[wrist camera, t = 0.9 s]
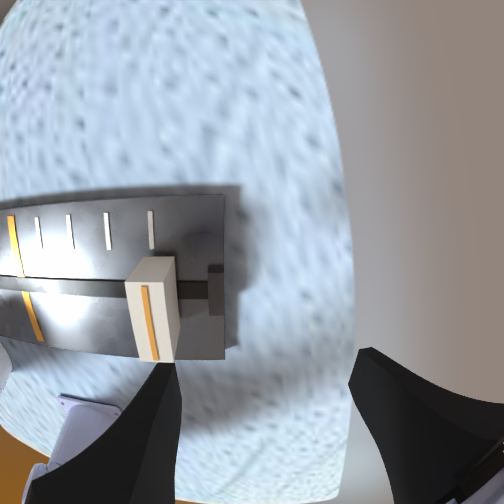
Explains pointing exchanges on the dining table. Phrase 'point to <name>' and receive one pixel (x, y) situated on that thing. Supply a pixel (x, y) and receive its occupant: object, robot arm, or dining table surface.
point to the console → (110, 271)
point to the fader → (154, 308)
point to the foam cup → (4, 367)
